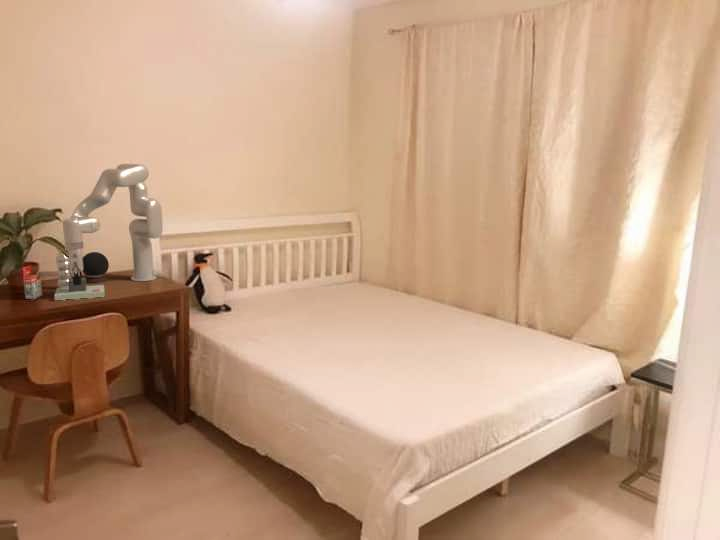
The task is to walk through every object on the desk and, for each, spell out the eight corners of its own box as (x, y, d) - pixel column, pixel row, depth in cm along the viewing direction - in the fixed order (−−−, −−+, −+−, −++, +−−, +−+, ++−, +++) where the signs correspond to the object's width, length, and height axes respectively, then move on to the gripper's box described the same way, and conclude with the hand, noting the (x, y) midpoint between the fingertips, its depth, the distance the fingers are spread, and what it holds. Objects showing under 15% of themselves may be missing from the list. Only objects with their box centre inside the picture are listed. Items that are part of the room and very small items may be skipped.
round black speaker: (82, 279, 290) (80, 250, 287) (110, 277, 296) (108, 249, 292) (80, 284, 279) (78, 255, 276) (109, 282, 284) (107, 253, 281)
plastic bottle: (74, 286, 274) (70, 246, 270) (72, 289, 268) (68, 248, 264) (59, 287, 272) (55, 246, 268) (57, 290, 266) (53, 249, 262)
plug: (86, 292, 262) (85, 277, 261) (86, 294, 258) (85, 280, 256) (70, 293, 259) (68, 278, 258) (69, 296, 255) (68, 281, 253)
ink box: (42, 295, 257) (39, 264, 254) (33, 300, 249) (30, 268, 246) (34, 295, 257) (31, 264, 254) (25, 299, 249) (21, 267, 246)
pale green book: (104, 289, 270) (103, 283, 269) (104, 297, 256) (103, 290, 255) (57, 293, 261) (56, 286, 261) (54, 301, 248) (54, 293, 247)
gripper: (82, 248, 248) (86, 286, 251) (84, 242, 263) (87, 277, 267) (63, 249, 245) (67, 287, 248) (66, 243, 260) (69, 278, 264)
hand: (78, 282), depth 258 cm, fingers open, 9 cm apart
